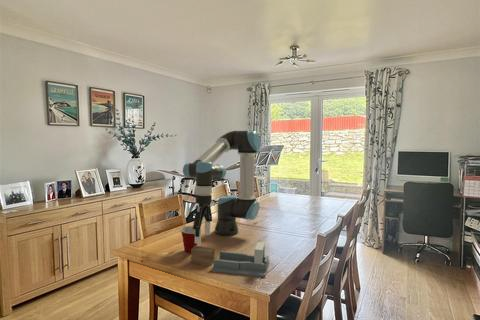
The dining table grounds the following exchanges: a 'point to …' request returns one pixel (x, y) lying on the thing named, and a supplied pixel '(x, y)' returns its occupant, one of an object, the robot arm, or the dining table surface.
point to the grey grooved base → (243, 262)
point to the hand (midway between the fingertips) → (202, 238)
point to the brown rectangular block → (202, 255)
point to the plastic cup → (188, 238)
